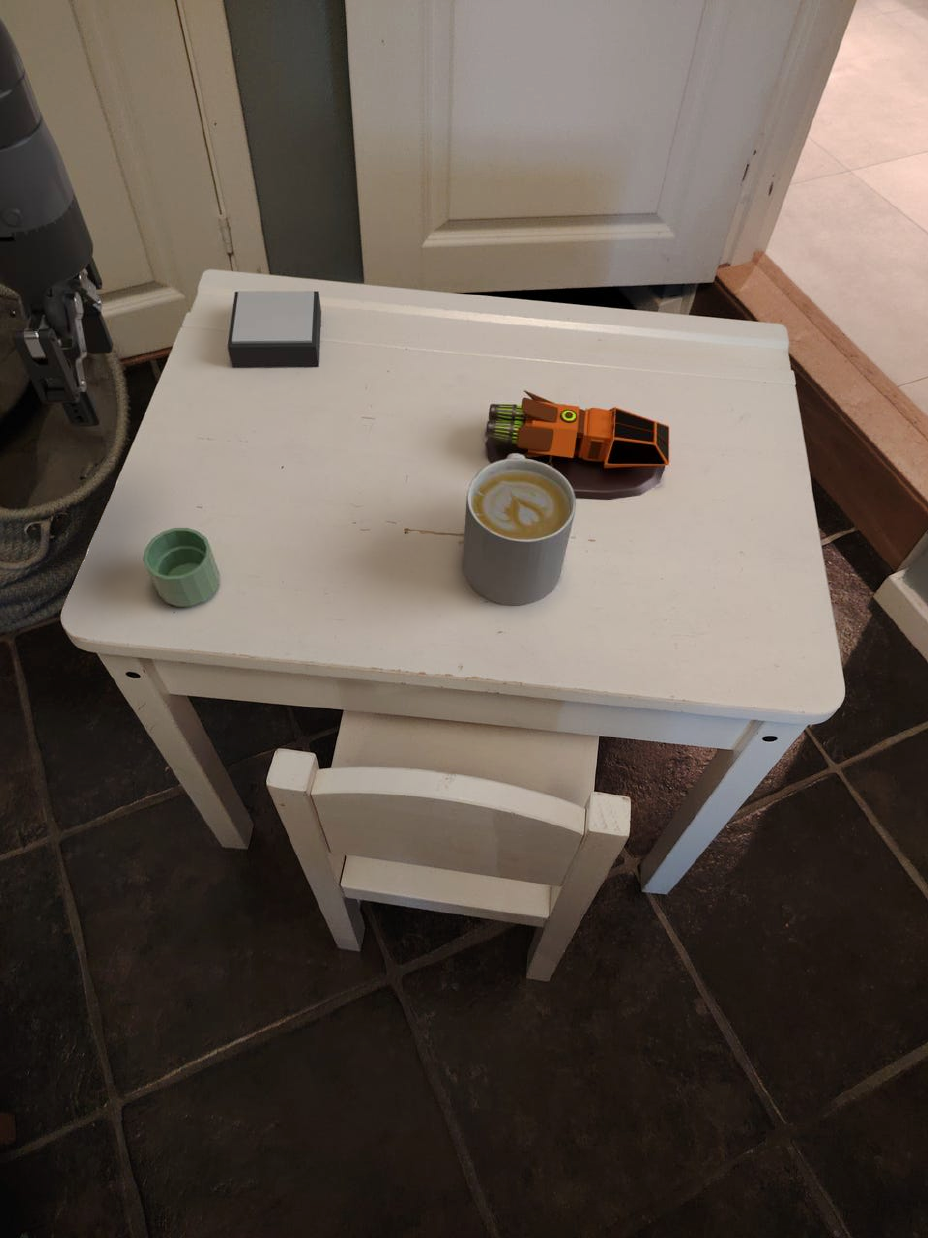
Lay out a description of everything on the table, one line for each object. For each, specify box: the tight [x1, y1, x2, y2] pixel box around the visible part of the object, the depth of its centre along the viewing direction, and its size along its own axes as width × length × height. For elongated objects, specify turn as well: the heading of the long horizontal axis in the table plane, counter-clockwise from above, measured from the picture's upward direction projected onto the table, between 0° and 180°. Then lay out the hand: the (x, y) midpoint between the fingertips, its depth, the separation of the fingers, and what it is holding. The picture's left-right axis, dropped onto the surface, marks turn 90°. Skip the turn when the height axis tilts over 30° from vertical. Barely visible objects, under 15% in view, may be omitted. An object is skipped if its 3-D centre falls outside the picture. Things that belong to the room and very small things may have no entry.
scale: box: [227, 290, 322, 369], centre depth 99 cm, size 10×10×3 cm
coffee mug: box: [461, 453, 577, 606], centre depth 80 cm, size 13×10×10 cm
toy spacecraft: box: [484, 389, 670, 500], centre depth 89 cm, size 12×20×6 cm, turn 82°
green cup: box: [142, 527, 221, 608], centre depth 79 cm, size 6×6×5 cm
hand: (94, 386), depth 68 cm, fingers open, 8 cm apart
